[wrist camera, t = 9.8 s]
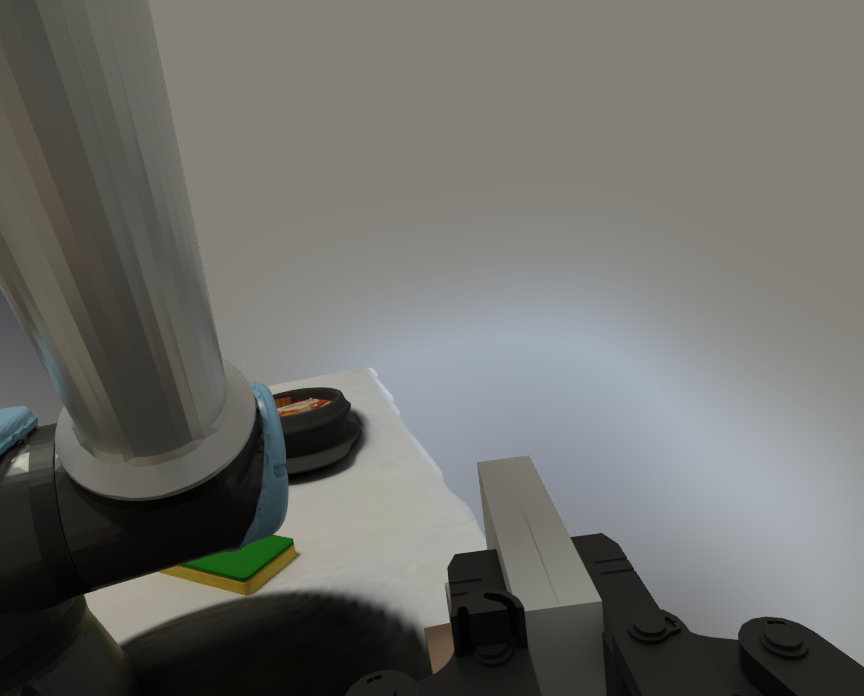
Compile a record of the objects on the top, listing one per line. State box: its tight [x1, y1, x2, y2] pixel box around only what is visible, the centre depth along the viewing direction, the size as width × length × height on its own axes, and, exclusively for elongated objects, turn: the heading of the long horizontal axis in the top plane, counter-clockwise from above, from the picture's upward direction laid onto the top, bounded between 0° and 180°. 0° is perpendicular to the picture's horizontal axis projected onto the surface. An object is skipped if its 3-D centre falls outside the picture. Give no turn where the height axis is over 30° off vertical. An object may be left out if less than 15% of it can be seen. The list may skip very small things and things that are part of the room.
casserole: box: [273, 387, 361, 475], centre depth 89 cm, size 25×19×8 cm
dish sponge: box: [158, 535, 296, 596], centre depth 61 cm, size 7×14×2 cm, turn 62°
